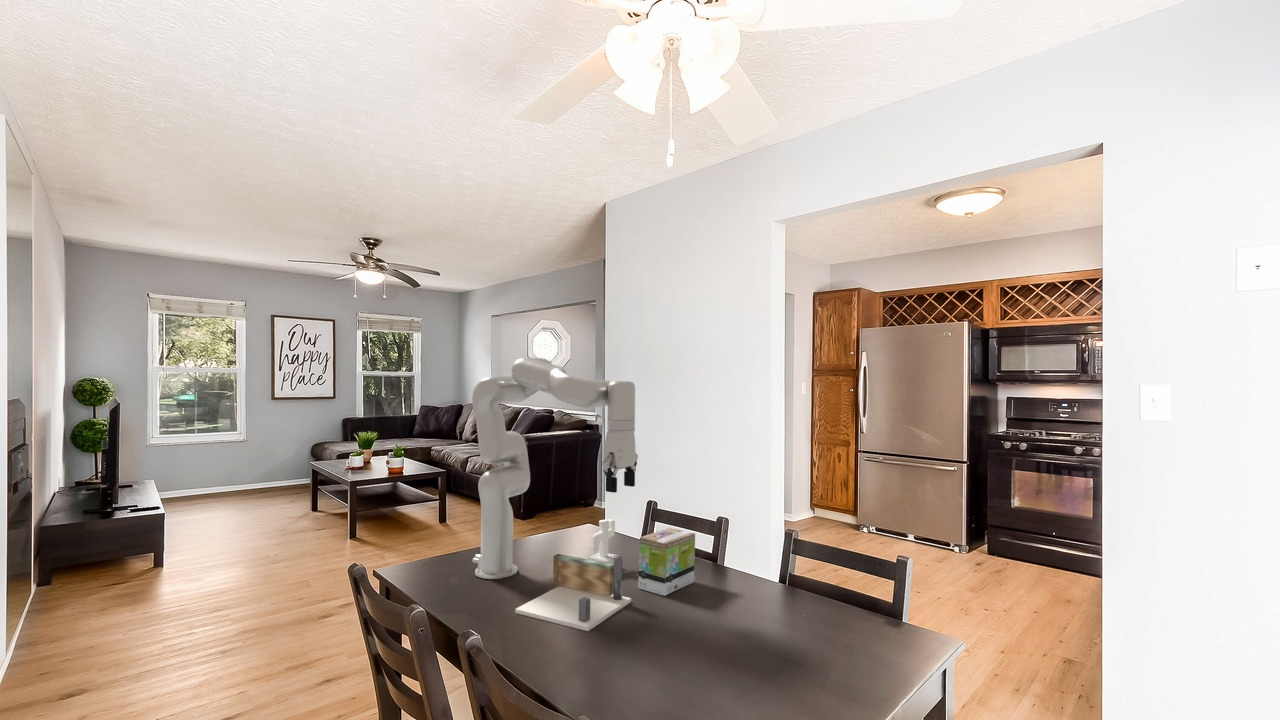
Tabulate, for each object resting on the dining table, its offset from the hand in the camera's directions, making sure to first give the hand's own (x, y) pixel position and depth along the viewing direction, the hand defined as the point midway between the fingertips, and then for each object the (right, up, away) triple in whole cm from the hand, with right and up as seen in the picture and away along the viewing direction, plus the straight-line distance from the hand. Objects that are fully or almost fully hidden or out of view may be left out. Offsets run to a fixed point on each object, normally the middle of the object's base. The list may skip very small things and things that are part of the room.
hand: (620, 488), depth 162 cm
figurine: (-6, -30, +24) cm, 39 cm away
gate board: (-12, -29, -7) cm, 32 cm away
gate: (-11, -28, +2) cm, 30 cm away
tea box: (+13, -30, +10) cm, 34 cm away
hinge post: (-4, -29, -10) cm, 31 cm away
